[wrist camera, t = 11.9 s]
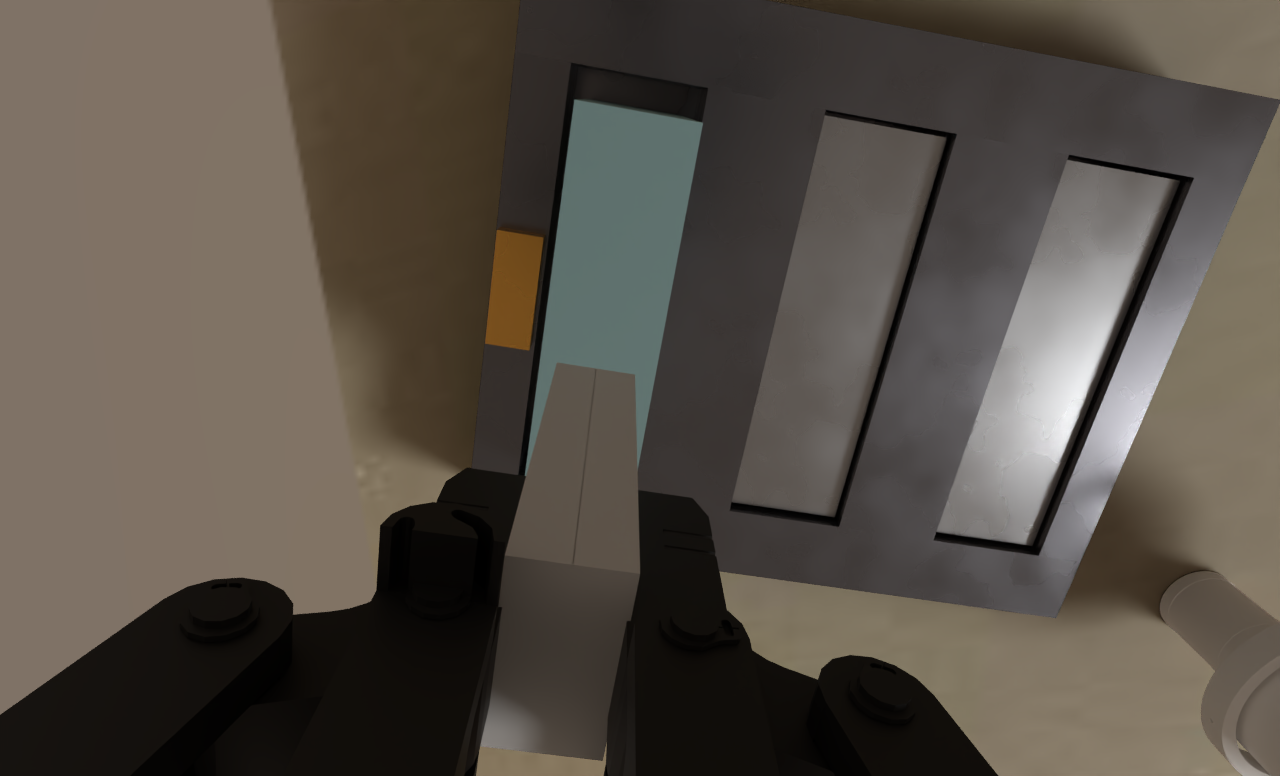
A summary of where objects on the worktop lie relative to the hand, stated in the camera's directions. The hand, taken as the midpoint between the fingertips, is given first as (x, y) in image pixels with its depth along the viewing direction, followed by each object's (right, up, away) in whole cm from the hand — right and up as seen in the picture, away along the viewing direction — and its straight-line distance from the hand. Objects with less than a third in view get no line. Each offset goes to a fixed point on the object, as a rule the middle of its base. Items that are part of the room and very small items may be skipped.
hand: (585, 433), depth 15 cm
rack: (+7, +4, +14) cm, 16 cm away
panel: (0, +5, +12) cm, 13 cm away
